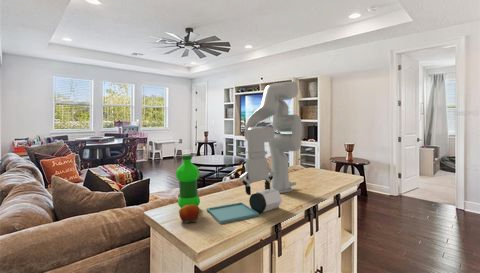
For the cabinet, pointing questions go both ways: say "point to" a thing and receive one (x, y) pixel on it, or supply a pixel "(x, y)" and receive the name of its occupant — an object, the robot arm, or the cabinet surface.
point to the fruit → (189, 213)
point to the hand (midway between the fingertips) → (258, 192)
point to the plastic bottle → (188, 182)
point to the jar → (265, 200)
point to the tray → (232, 212)
